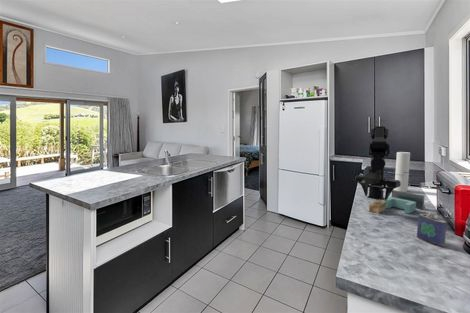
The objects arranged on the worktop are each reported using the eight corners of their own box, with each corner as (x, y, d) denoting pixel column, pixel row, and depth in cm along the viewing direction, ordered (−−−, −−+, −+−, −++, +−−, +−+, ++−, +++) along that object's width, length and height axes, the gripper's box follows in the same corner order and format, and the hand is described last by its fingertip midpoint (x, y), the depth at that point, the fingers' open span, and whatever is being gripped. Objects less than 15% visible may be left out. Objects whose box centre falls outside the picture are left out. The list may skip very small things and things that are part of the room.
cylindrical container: (409, 192, 154) (412, 153, 151) (397, 191, 155) (399, 153, 152) (404, 189, 161) (407, 152, 158) (392, 189, 162) (394, 151, 159)
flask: (446, 246, 83) (449, 216, 82) (440, 248, 82) (442, 217, 81) (419, 235, 92) (422, 208, 91) (413, 236, 91) (415, 209, 90)
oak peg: (369, 212, 119) (369, 204, 118) (376, 207, 126) (376, 200, 125) (378, 214, 116) (378, 206, 115) (385, 209, 123) (385, 201, 122)
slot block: (383, 207, 124) (384, 199, 123) (390, 204, 128) (391, 196, 128) (409, 213, 115) (409, 205, 114) (415, 210, 119) (416, 201, 119)
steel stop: (391, 203, 132) (391, 190, 131) (394, 201, 134) (395, 189, 133) (422, 209, 120) (423, 196, 120) (424, 208, 123) (426, 194, 122)
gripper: (349, 166, 120) (348, 196, 122) (391, 171, 105) (389, 206, 106) (361, 163, 126) (360, 193, 128) (402, 168, 111) (399, 201, 113)
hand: (375, 198), depth 119 cm, fingers open, 9 cm apart
